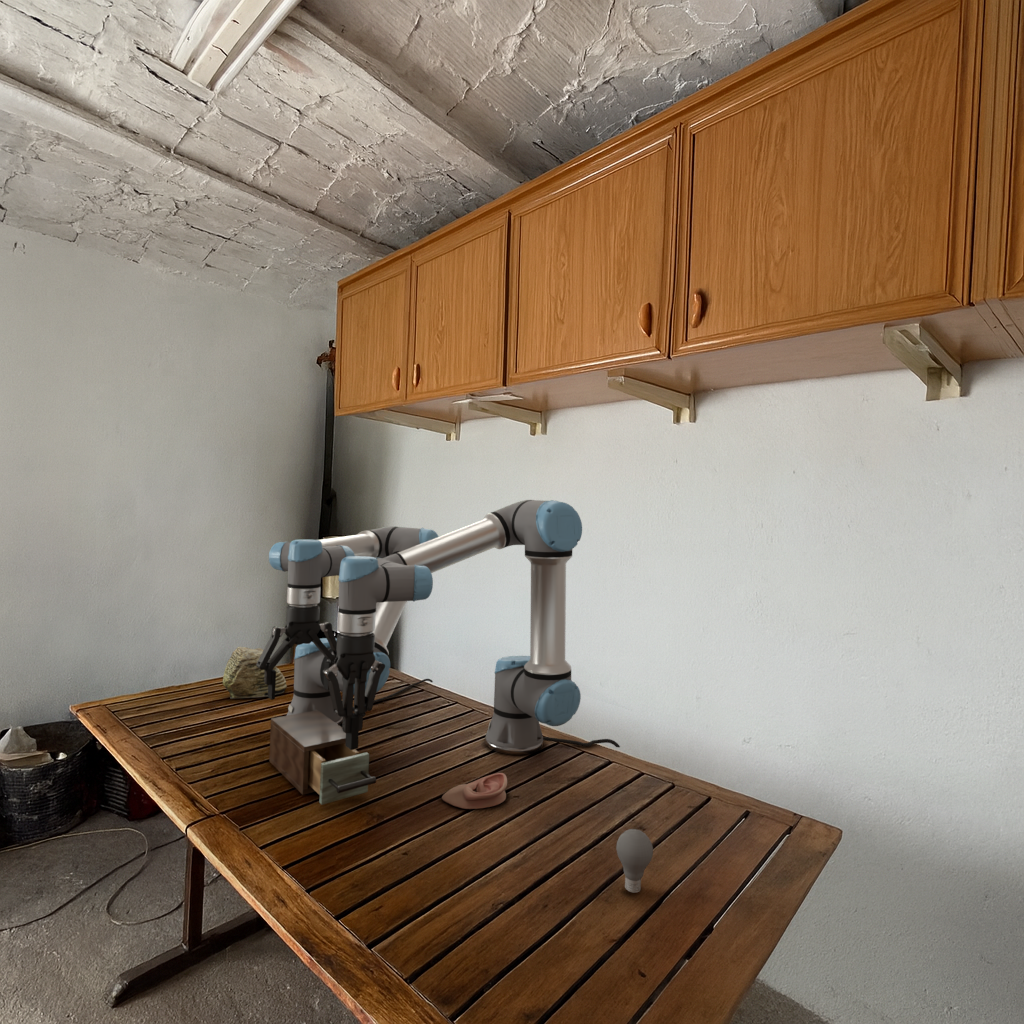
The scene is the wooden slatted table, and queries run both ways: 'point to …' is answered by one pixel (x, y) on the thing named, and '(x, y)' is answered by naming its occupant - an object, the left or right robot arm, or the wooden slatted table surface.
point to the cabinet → (301, 744)
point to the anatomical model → (478, 792)
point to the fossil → (248, 675)
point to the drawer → (338, 773)
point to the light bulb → (634, 857)
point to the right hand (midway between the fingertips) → (351, 747)
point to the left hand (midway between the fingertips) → (300, 693)
